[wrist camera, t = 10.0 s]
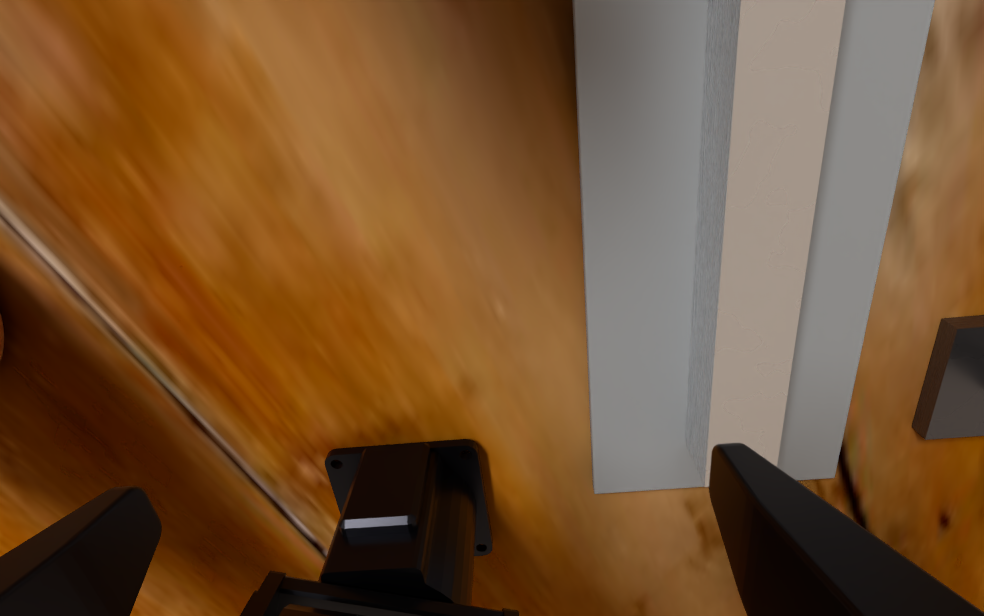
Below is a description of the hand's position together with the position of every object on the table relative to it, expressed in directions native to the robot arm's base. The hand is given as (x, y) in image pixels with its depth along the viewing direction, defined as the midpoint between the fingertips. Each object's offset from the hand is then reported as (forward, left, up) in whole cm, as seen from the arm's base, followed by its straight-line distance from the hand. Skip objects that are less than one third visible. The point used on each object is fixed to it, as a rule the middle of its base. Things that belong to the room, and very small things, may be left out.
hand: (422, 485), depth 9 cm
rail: (+2, -9, -12) cm, 15 cm away
